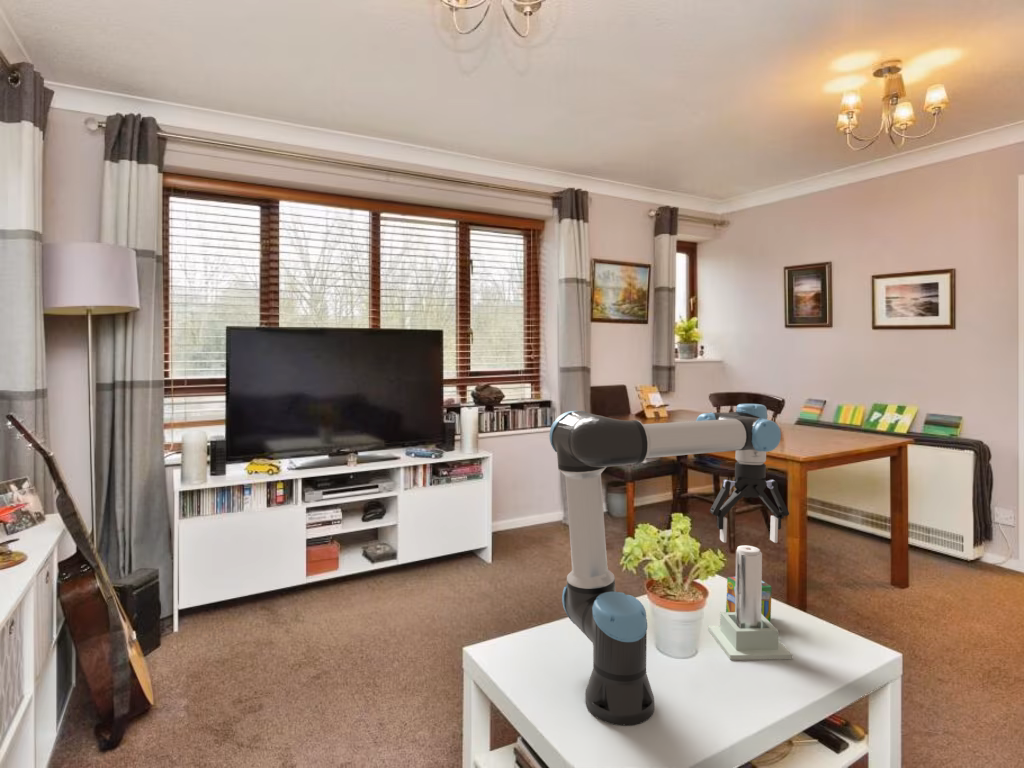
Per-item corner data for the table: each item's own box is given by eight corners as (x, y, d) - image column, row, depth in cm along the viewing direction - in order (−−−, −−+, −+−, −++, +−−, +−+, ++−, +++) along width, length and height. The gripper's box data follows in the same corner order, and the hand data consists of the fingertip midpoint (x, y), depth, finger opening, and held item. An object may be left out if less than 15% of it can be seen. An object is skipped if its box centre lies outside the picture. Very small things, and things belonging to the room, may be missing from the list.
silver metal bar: (763, 646, 152) (764, 552, 150) (737, 644, 153) (738, 551, 152) (757, 634, 158) (759, 544, 157) (732, 632, 159) (733, 543, 158)
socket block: (730, 659, 148) (730, 636, 147) (708, 629, 164) (708, 608, 163) (792, 659, 148) (792, 635, 147) (764, 629, 164) (764, 607, 163)
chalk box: (725, 614, 173) (725, 565, 173) (752, 611, 175) (753, 563, 174) (743, 628, 164) (744, 577, 164) (772, 625, 166) (773, 575, 165)
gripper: (708, 464, 149) (706, 545, 150) (804, 465, 149) (802, 545, 150) (698, 459, 157) (697, 536, 158) (790, 459, 157) (787, 536, 158)
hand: (748, 541), depth 154 cm, fingers open, 13 cm apart
